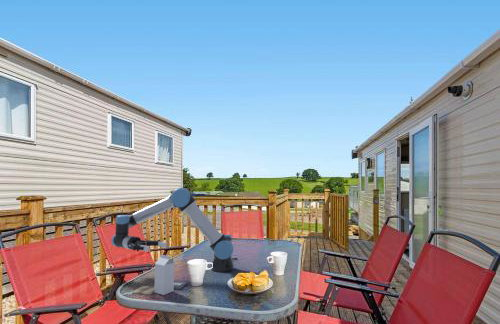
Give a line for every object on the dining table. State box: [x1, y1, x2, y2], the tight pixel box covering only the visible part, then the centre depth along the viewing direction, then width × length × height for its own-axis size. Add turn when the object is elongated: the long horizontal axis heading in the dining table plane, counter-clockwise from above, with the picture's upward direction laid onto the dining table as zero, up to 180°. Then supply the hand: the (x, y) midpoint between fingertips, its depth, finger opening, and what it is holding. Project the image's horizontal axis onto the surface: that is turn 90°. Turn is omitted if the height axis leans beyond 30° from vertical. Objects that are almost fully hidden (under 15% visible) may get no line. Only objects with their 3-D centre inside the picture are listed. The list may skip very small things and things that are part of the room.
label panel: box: [153, 281, 187, 290], centre depth 174 cm, size 16×9×1 cm, turn 81°
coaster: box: [132, 285, 155, 296], centre depth 166 cm, size 10×10×1 cm
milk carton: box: [153, 254, 175, 296], centre depth 165 cm, size 7×7×19 cm
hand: (157, 246), depth 176 cm, fingers open, 13 cm apart
